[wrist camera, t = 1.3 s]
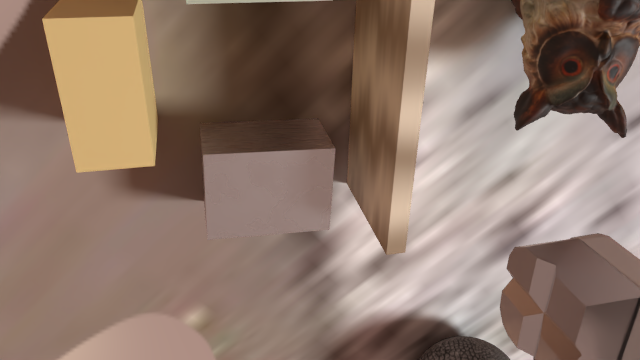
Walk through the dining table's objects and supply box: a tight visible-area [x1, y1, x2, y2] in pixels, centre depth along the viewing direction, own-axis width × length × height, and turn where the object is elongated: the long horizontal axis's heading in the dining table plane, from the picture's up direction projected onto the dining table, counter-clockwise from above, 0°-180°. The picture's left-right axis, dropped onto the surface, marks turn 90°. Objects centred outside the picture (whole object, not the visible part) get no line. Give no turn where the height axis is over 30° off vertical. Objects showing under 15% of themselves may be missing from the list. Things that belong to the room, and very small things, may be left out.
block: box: [200, 119, 336, 240], centre depth 36 cm, size 6×8×5 cm
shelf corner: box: [347, 0, 435, 255], centre depth 29 cm, size 26×15×9 cm, turn 179°
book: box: [42, 0, 158, 172], centre depth 30 cm, size 4×8×6 cm, turn 179°
